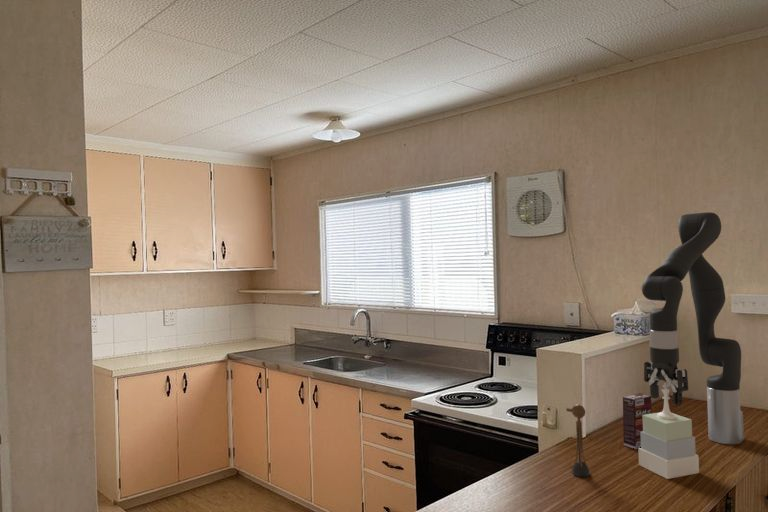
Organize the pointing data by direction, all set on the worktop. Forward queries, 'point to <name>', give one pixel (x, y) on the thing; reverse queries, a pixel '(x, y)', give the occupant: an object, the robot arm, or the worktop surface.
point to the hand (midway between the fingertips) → (665, 401)
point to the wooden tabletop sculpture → (579, 443)
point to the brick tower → (668, 446)
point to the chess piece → (666, 405)
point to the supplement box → (634, 418)
